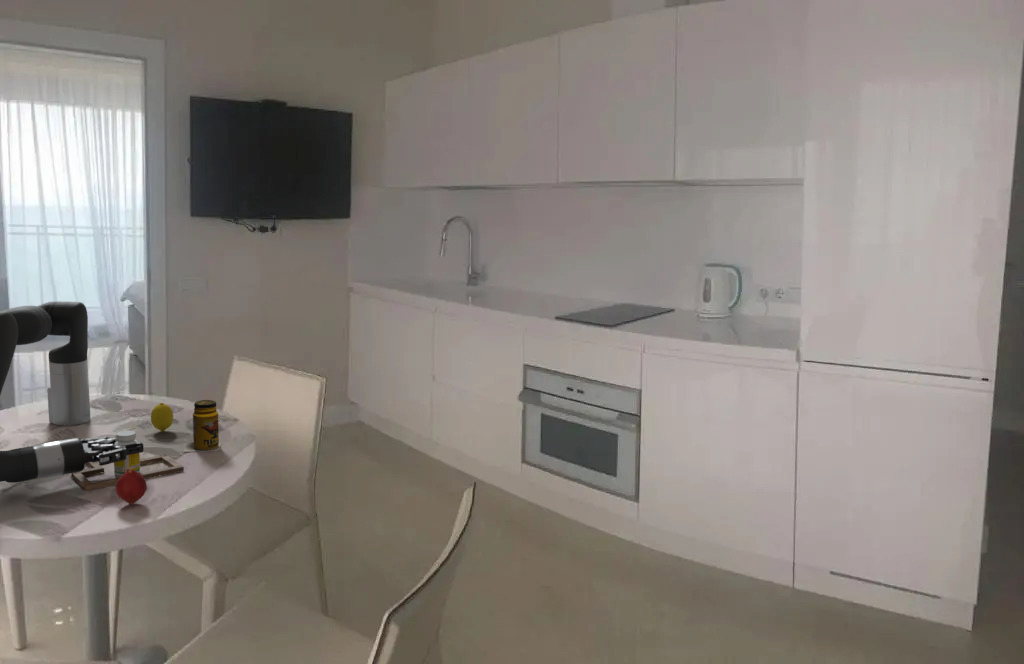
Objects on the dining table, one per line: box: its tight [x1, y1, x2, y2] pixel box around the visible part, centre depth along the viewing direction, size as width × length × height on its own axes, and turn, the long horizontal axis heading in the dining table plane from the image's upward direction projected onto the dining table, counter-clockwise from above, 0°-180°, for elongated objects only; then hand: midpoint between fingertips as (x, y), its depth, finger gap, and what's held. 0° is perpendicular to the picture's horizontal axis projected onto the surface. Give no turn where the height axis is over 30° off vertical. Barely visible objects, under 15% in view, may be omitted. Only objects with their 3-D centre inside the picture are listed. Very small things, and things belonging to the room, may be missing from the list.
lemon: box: [150, 402, 174, 433], centre depth 217 cm, size 6×6×8 cm
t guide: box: [70, 454, 185, 492], centre depth 191 cm, size 24×21×1 cm
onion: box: [115, 468, 147, 505], centre depth 169 cm, size 6×6×8 cm
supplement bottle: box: [113, 430, 141, 477], centre depth 186 cm, size 5×5×10 cm
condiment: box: [182, 399, 223, 453], centre depth 206 cm, size 7×8×12 cm
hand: (137, 443), depth 187 cm, fingers closed on supplement bottle, 5 cm apart
